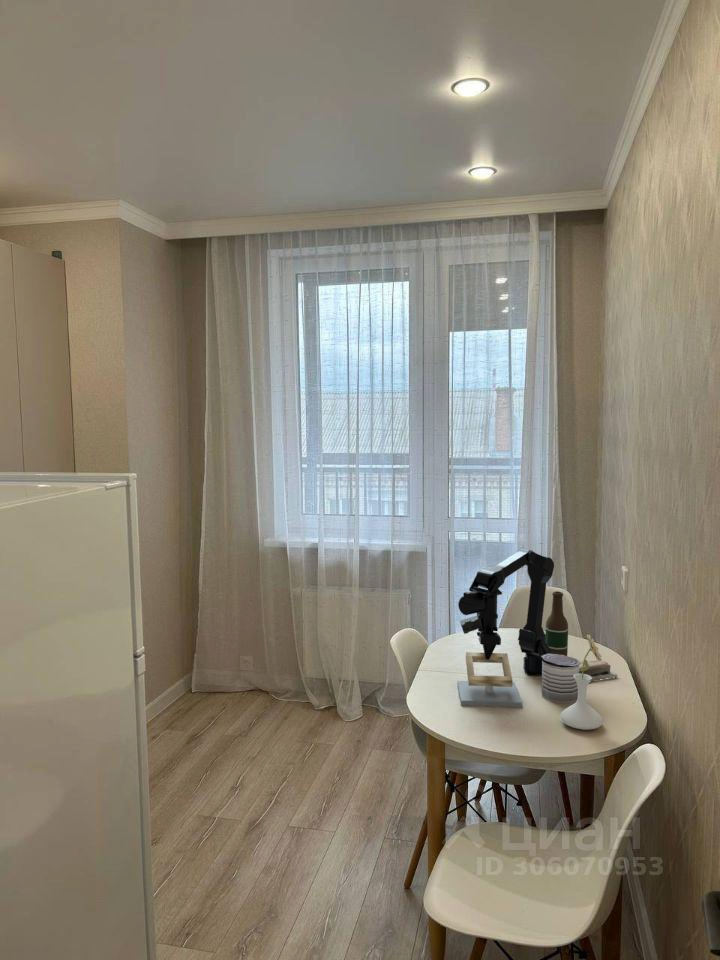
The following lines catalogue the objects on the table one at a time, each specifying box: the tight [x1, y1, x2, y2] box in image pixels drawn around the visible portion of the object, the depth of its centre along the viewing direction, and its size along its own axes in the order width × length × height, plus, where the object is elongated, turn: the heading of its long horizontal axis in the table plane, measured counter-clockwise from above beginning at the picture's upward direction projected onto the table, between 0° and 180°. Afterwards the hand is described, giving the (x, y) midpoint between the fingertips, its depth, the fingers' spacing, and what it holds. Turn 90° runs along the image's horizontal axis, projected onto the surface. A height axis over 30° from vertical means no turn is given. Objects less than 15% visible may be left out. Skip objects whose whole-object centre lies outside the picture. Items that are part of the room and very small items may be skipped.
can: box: [541, 654, 581, 704], centre depth 214 cm, size 11×11×12 cm
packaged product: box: [579, 659, 618, 682], centre depth 232 cm, size 18×5×10 cm
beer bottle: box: [544, 590, 569, 656], centre depth 248 cm, size 8×8×24 cm
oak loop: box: [465, 651, 514, 687], centre depth 215 cm, size 13×13×2 cm
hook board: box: [456, 680, 523, 708], centre depth 214 cm, size 18×16×6 cm
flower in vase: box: [559, 634, 604, 731], centre depth 194 cm, size 13×11×25 cm
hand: (486, 658), depth 220 cm, fingers closed on oak loop, 2 cm apart
